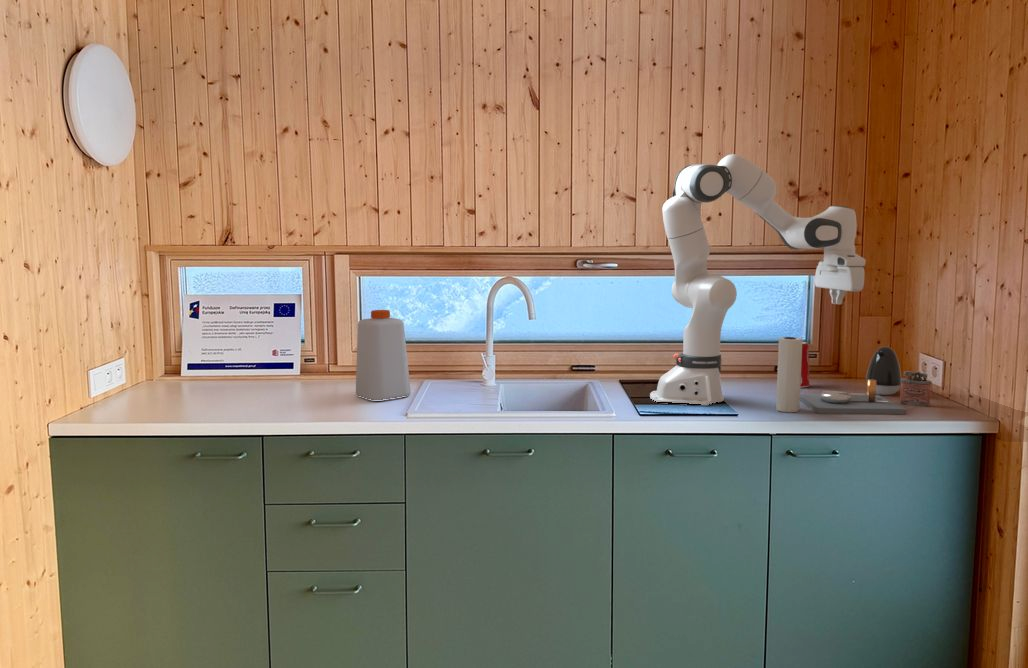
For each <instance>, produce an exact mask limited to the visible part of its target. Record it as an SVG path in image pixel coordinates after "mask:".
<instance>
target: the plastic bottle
mask: <svg viewBox="0 0 1028 668" xmlns="http://www.w3.org/2000/svg"><path fill="white" fill-rule="evenodd" d="M356 338H357V339H356V341H357V342H356V367H355V368H356V373H355V375H356V376H355V396H357V395H358V396H361V397H364V398H367V399H371V400H383V399H390V398H397V397H402V396H407V395H409V396H410V395H411V392H412V391H411V382H410V375H409V374H410V373H409V372H410V371H409V363H408V361H409V360H408V351H407V344H406V333H405V323H404V321H403V320H402V319H399V318H395V317H391V312H390V310H389V309H373V310H371V311H370V317H369V318H363V319H360V320H359V321H358V323H357V335H356ZM358 396H357V397H358ZM407 397H408V396H407Z"/></svg>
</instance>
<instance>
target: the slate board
mask: <svg viewBox="0 0 1028 668" xmlns="http://www.w3.org/2000/svg"><path fill="white" fill-rule="evenodd" d="M875 398H882V400H875V402H869V401H850V402H849V403H830V402H825V401H822V400H821V394H814V393H813V394H812V393H811V394H810V393H809V394H806V393H805V394H803V393H800V403H802V404H804V405H805V406H807V407H808V408H809V409H811V410H812V411H813V412H815V413H816V414H836V415H837V414H838V415H839V414H840V415H841V414H845V415H847V414H849V415H851V414H852V415H853V414H854V415H855V414H857V415H859V414H860V415H861V414H863V415H905V414H906V408H904V407H902V406H900V405H898V404H896V403H894V402H893V401H891V400H889V399H887V398H885V397H883V396H882V395H879V394H876V396H875Z"/></svg>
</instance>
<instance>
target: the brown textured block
mask: <svg viewBox="0 0 1028 668" xmlns="http://www.w3.org/2000/svg"><path fill="white" fill-rule="evenodd" d="M903 376H906V377H907V378H905V377H904V378H903V377H901V378H902V379H901V385H900V395H899V402H898V404H899V405H903V406H904V405H905V406H912V407H913V406H914V407H923V408H925V407H927V408H929V407H931V402H930V400H931V399H930V398H931V387H932V383H933V382H932V380H929V379H928V373H924V372H921V371H915V372H913V371H909V370H907V371H906V370H905V371H904V372H903ZM912 377H913V378H912Z"/></svg>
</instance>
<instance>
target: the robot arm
mask: <svg viewBox="0 0 1028 668" xmlns="http://www.w3.org/2000/svg"><path fill="white" fill-rule="evenodd" d="M674 179H675V180H674V184H673V185H674V187H673V191H672V197H670V198H668V199H667V200H666V201H665V202H664V204H663V206H662V220H663V226H664V231H665V234H666V238H667V240H668V246H669V247H670V252H671V255H672V258H673V265H674V281H673V282H672V285H671V295H672V297H673V299H674V300H675V301H676V302H677V303H679V305H682V306H683V307H686V308H691V309H692V313H691V316H690V319H689V321H688V323H687V325H685V327H684V329H683V339H682V342H683V346H682V353H680V354H679V353H674V354H673V359H674V360H675V363H676V365H675V366H673V367H672V368H671V369H669V370H668V371H667V372H666V373H664V374H663V375H661V376H660V377H659V380H658V382H657V387H656V390H653V391H651V392H650V393H649V397H650V400H651V399H652V400H651V401H653V400H654V401H653V402H655V401H656V402H655V403H657V402H672V403H689V404H701V405H700V406H710V405H712V403H713V404H716V402H718V403H721V402H723V401H724V400H725V398H724V394H723V390H722V382H721V373H722V371H721V370H722V354H721V335H722V334H721V333H722V328H723V323H724V320H725V318H726V316H727V312H728V311H729V309H730V308H731V307H733V305H734V304H735V302H736V299H737V293H738V292H737V288H736V286H735V284H734V283H733V281H731V280H730V279H729V278H726V277H724V276H721V275H717V274H709V272H708V268H707V267H708V266H707V264H708V263H707V262H708V261H707V260H708V257H709V255H710V253H711V249H710V245H709V242H708V241H709V240H708V237H707V234H706V231H705V227H704V224H703V220H702V217H701V206H702V203H712V202H714V201H716V200H718V199H719V198H721V197H722V196H723V195H724V194H727V193H728V194H729V195H731V196H732V197H733V198H734V199H735V200H737V201H738V202H739V203H741V204H742V205H744V206H745V207H747V208H749V210H751V211H753V212H754V213H755V214H756V215H757V216H758V217H759V218H761V219H762V220H763V221H764V222H765V223H766V224H768V225H769V226H770V227H771V228H773V230H774V231H776V233H777V234H778V235H779V237H780V239H781V241H782V242H783V244H784V245H785V246H786V247H787V248H789V249H791V250H795V251H796V250H818V249H819V250H820V249H824V250H823V258H821V260H820V261H819V262H818V265H817V266H816V268H815V269H816V270H815V274H814V275H815V276H814V285H815V287H816V288H819V289H821V288H822V289H829V295H830V299H831V304H833V305H843V300H844V297H845V296H846V292H861V291H862V290H863V289H864V285H865V276H866V275H865V269H864V267H865V265H866V262H867V261H866V258H864V257H863V256H860V255H859V254H858V253H856V245H855V240H856V238H857V226H858V224H857V216H856V215H857V214H856V211H855V209H854V208H851V207H849V206H844V205H831V206H829V207H828V208H827V209H825V211H822V212H820V213H819V214H817V215H813V216H812V217H798V216H795V215H792V214H790V213H789V212H788V211H787V210H786V209H784V208H783V207H782V206H780V204H779V203H777V201H776V200H775V197H776V194H777V189H778V188H777V183H776V181H775V180H774V178H772V176H771V175H769V174H768V173H767V172H766V171H765V170H764V169H762V168H761V167H759V166H758V165H757V164H755V163H754V162H752V161H750V160H748V159H746V158H745V157H743V156H741V155H738V154H735V153H732V154H731V153H730V154H728V155H726V156H724V157H723V158H722V159H720V160H719V162H718V163H717V164H704V163H697V164H696V163H695V164H691V165H690V164H689V165H686V166H685V167H683V168H681V170H680V171H679V172H678V173H677V175H676V176H675V178H674ZM709 404H710V405H709Z"/></svg>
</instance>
